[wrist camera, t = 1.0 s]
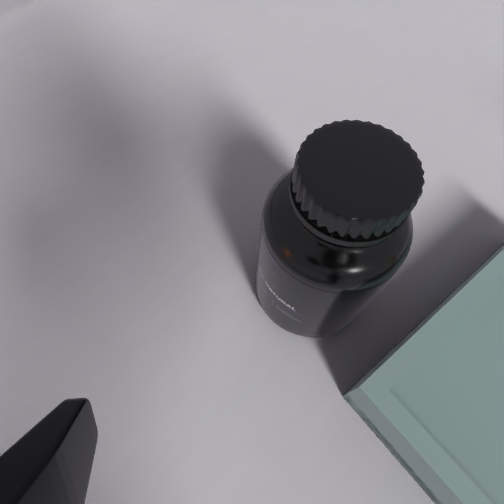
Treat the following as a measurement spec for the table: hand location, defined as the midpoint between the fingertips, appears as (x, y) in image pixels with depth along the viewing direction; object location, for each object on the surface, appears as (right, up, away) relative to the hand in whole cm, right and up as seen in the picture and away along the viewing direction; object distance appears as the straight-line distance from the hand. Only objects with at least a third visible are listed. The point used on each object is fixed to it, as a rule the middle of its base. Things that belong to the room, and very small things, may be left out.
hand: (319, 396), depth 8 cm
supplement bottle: (+2, +1, +17) cm, 17 cm away
